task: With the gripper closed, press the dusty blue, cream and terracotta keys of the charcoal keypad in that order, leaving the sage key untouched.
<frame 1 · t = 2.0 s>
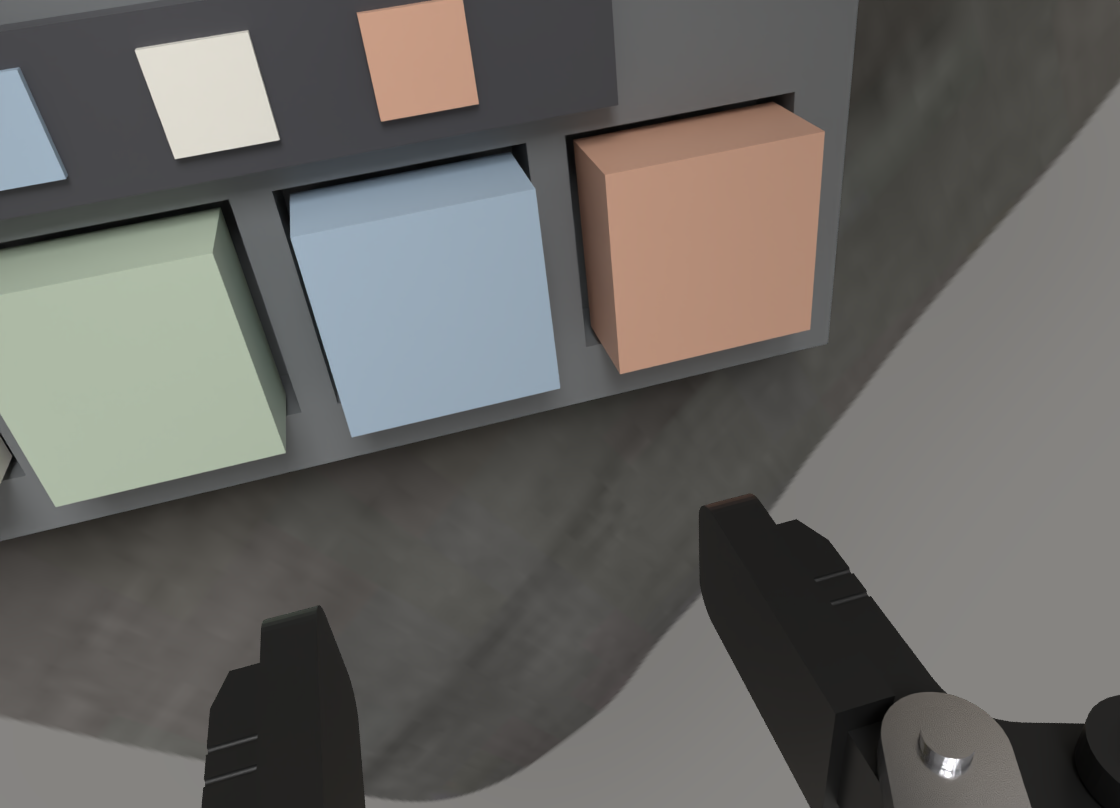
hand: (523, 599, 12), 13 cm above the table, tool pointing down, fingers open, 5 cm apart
key sage: (137, 357, 19), point 4 cm above the table, slide at 0.0 cm
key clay: (696, 238, 21), point 4 cm above the table, slide at 0.0 cm
key blue: (430, 295, 20), point 4 cm above the table, slide at 0.0 cm
keypad board: (270, 203, 22), on the table
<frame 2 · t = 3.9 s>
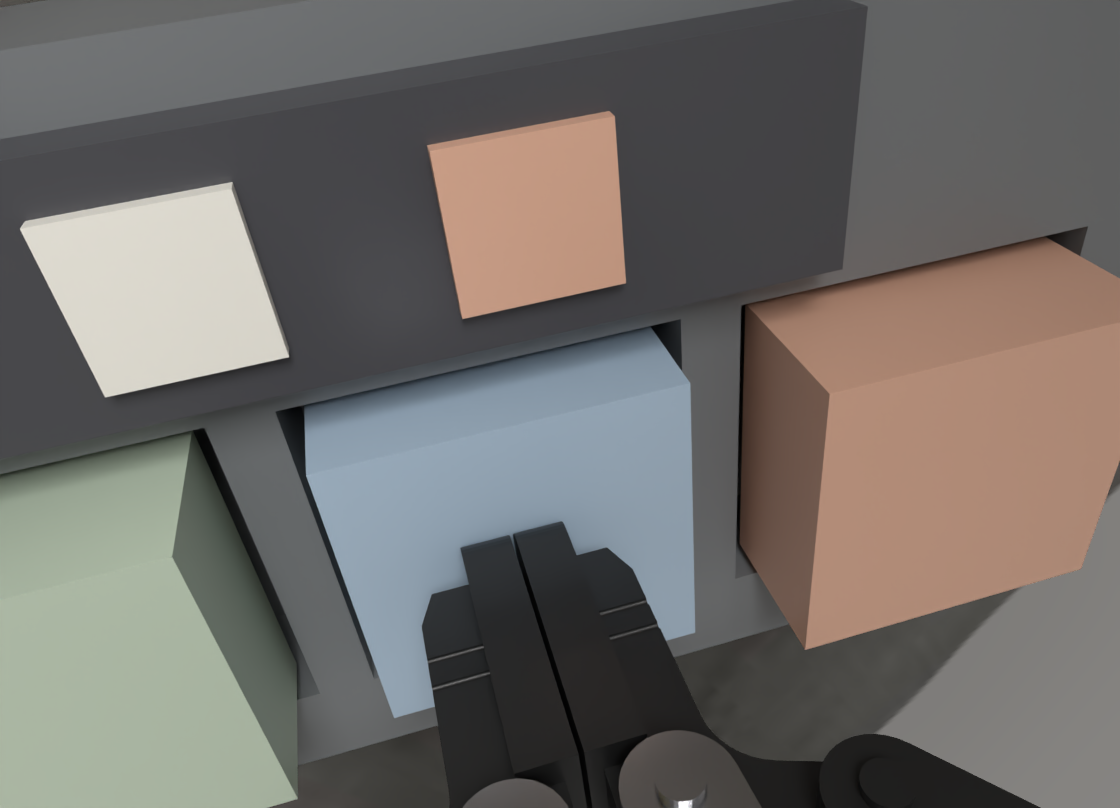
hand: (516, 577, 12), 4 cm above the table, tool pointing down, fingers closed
key sage: (60, 669, 12), point 4 cm above the table, slide at 0.0 cm
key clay: (923, 444, 14), point 4 cm above the table, slide at 0.0 cm
key blue: (511, 509, 13), point 3 cm above the table, slide at 0.9 cm, touching gripper
keypad board: (273, 380, 14), on the table
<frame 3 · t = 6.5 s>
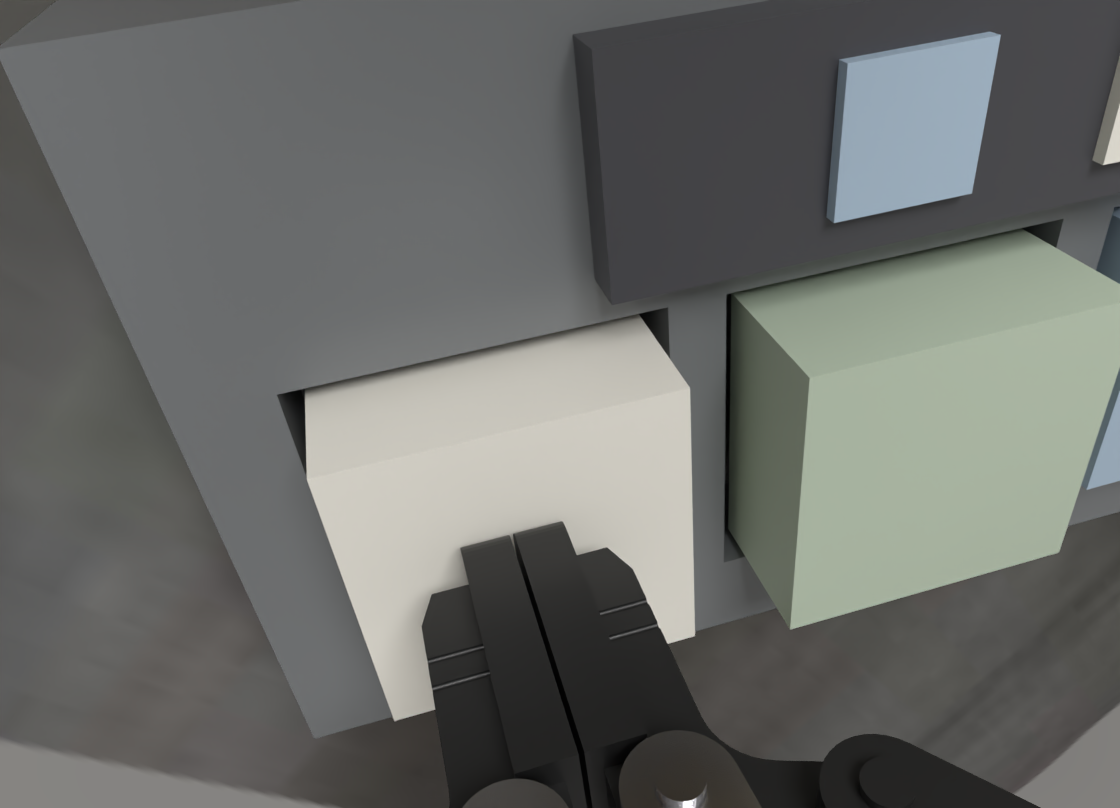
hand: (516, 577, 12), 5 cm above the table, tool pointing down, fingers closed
key sage: (904, 430, 14), point 4 cm above the table, slide at 0.0 cm
keypad board: (957, 218, 17), on the table
key cream: (511, 513, 13), point 3 cm above the table, slide at 0.4 cm, touching gripper
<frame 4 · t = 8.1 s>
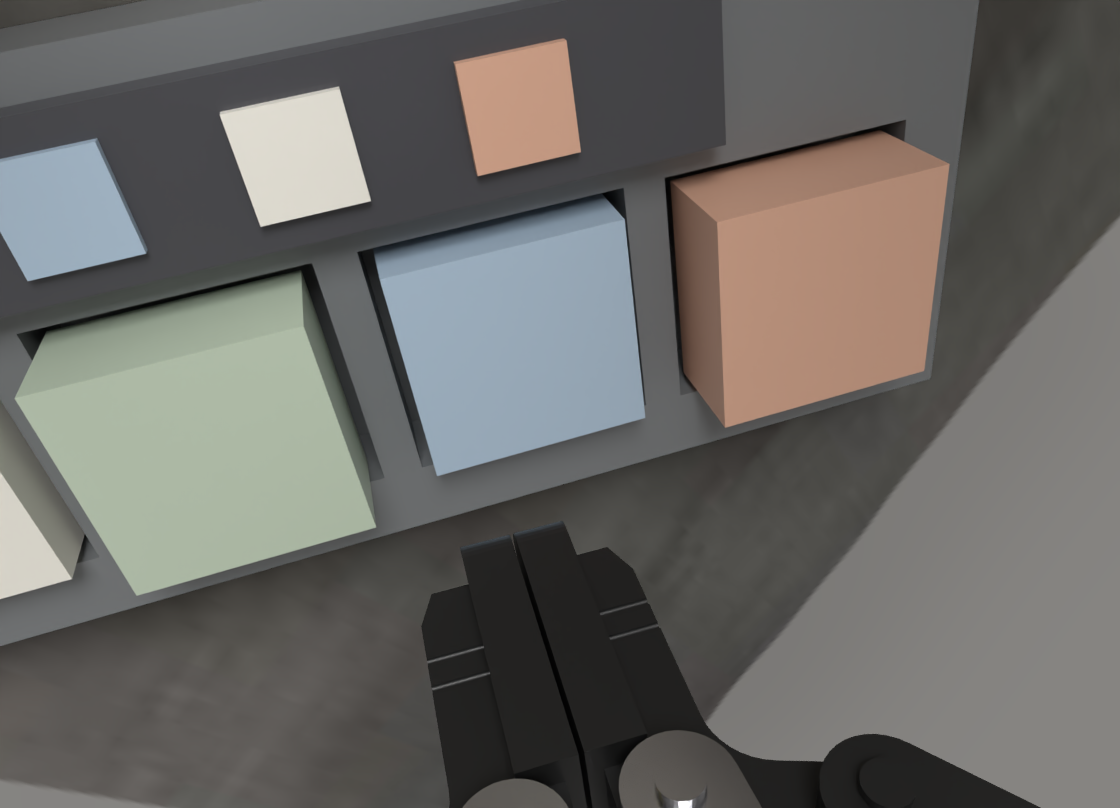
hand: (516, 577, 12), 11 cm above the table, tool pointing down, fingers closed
key sage: (218, 433, 18), point 4 cm above the table, slide at 0.0 cm
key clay: (802, 279, 19), point 4 cm above the table, slide at 0.0 cm
key blue: (512, 328, 19), point 3 cm above the table, slide at 1.1 cm
keypad board: (344, 257, 20), on the table
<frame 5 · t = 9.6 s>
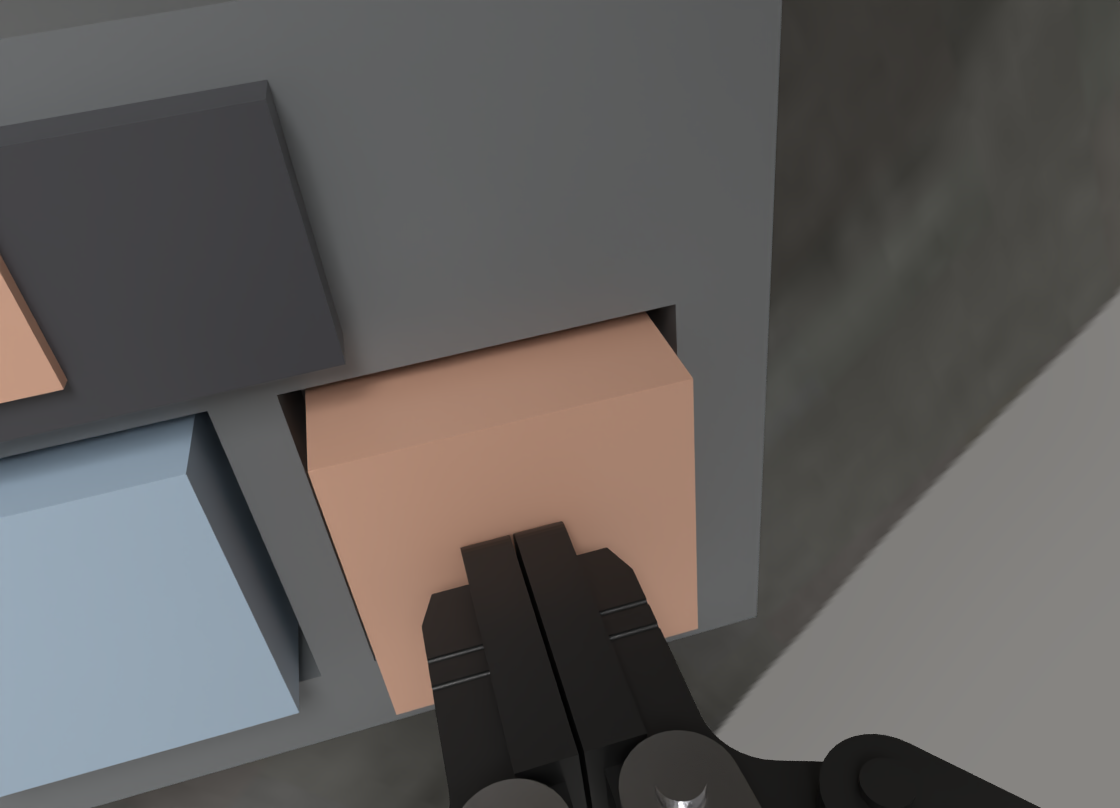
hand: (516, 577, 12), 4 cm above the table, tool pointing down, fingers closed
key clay: (513, 505, 13), point 3 cm above the table, slide at 0.6 cm, touching gripper
key blue: (82, 590, 13), point 3 cm above the table, slide at 1.1 cm
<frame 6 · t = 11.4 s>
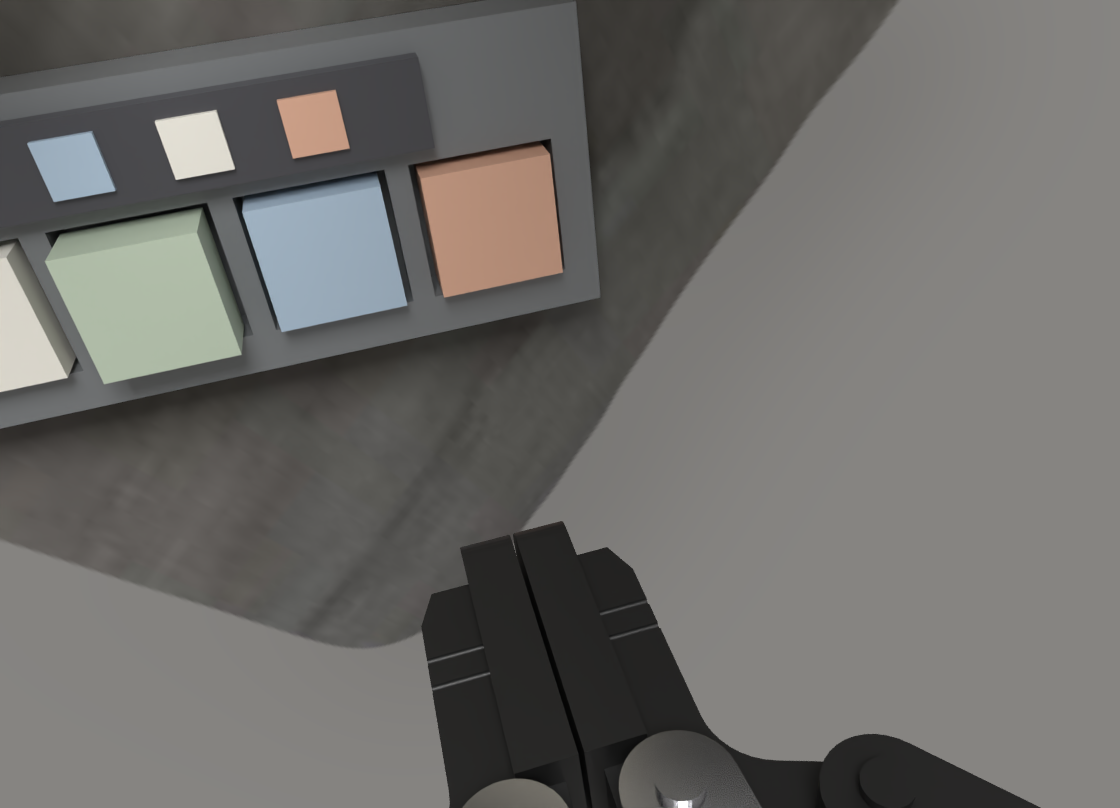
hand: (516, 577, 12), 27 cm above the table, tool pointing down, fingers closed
key sage: (153, 295, 32), point 4 cm above the table, slide at 0.0 cm
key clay: (489, 216, 35), point 3 cm above the table, slide at 1.1 cm
key blue: (328, 248, 34), point 3 cm above the table, slide at 1.1 cm
keypad board: (234, 205, 35), on the table
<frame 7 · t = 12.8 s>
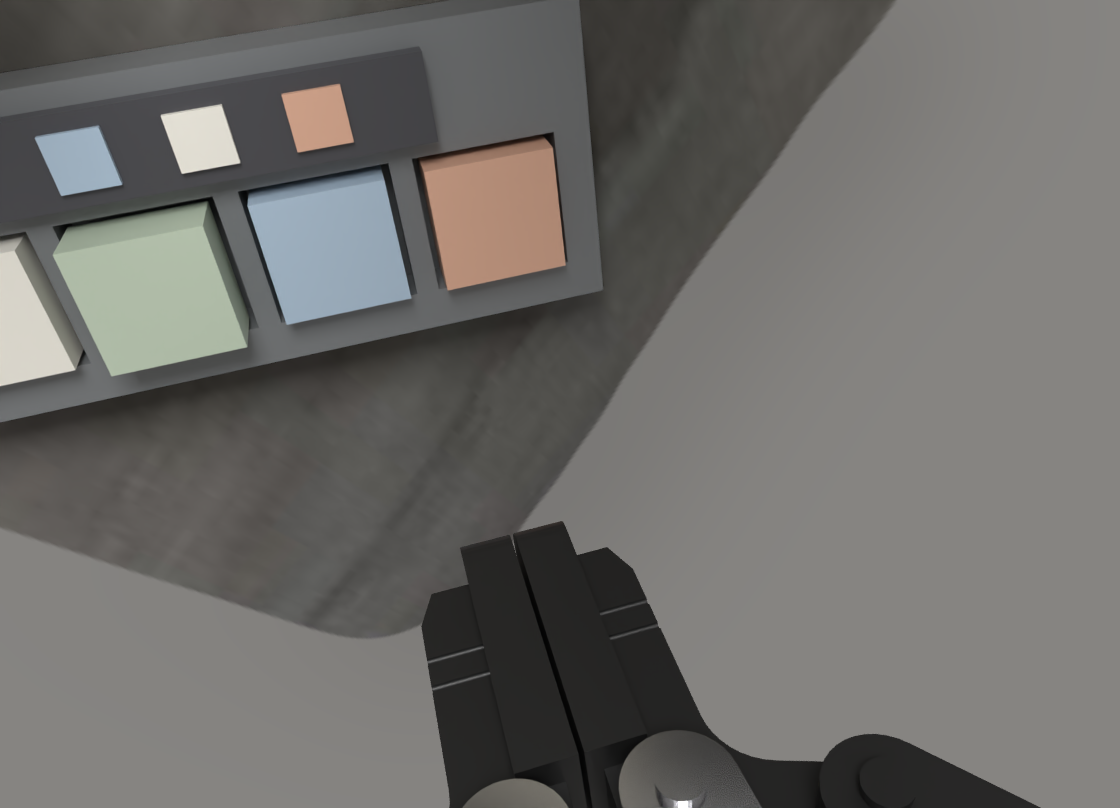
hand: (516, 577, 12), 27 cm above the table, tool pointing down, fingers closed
key sage: (159, 288, 32), point 4 cm above the table, slide at 0.0 cm
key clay: (492, 209, 35), point 3 cm above the table, slide at 1.1 cm
key blue: (332, 241, 34), point 3 cm above the table, slide at 1.1 cm
keypad board: (239, 198, 35), on the table
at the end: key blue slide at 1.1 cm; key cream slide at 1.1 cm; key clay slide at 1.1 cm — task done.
